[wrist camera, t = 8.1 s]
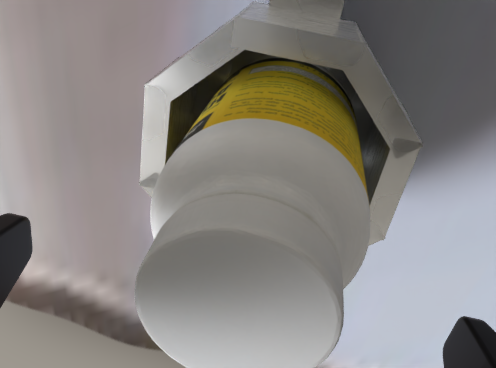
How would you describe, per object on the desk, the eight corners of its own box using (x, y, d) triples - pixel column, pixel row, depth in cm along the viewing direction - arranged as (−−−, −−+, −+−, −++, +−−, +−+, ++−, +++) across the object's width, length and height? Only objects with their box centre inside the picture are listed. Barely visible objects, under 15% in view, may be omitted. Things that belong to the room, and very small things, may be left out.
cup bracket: (458, -74, 14) (514, -81, 10) (354, 223, 19) (362, 294, 16) (201, -124, 14) (156, -148, 10) (172, 182, 20) (135, 241, 16)
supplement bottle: (225, 34, 15) (107, 150, 7) (376, 75, 15) (445, 242, 7) (200, 168, 18) (91, 369, 10) (328, 203, 18) (334, 438, 9)
